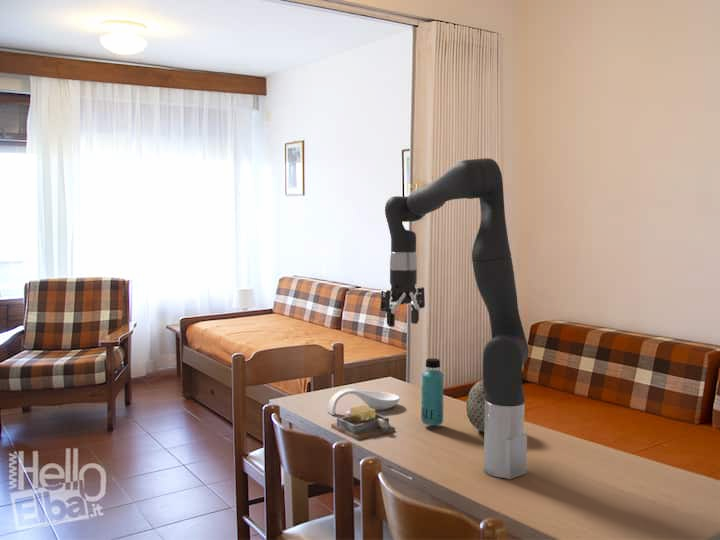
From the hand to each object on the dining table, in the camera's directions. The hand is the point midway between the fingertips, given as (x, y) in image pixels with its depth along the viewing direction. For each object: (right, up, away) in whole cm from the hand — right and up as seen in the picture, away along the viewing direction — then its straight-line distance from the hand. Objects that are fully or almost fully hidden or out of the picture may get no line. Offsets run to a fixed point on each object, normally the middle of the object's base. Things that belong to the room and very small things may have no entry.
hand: (402, 325), depth 187 cm
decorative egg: (+24, -31, 0) cm, 39 cm away
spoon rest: (-11, -29, +21) cm, 37 cm away
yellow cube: (-11, -29, +2) cm, 31 cm away
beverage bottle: (+9, -30, +4) cm, 32 cm away
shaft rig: (-11, -30, +2) cm, 32 cm away
